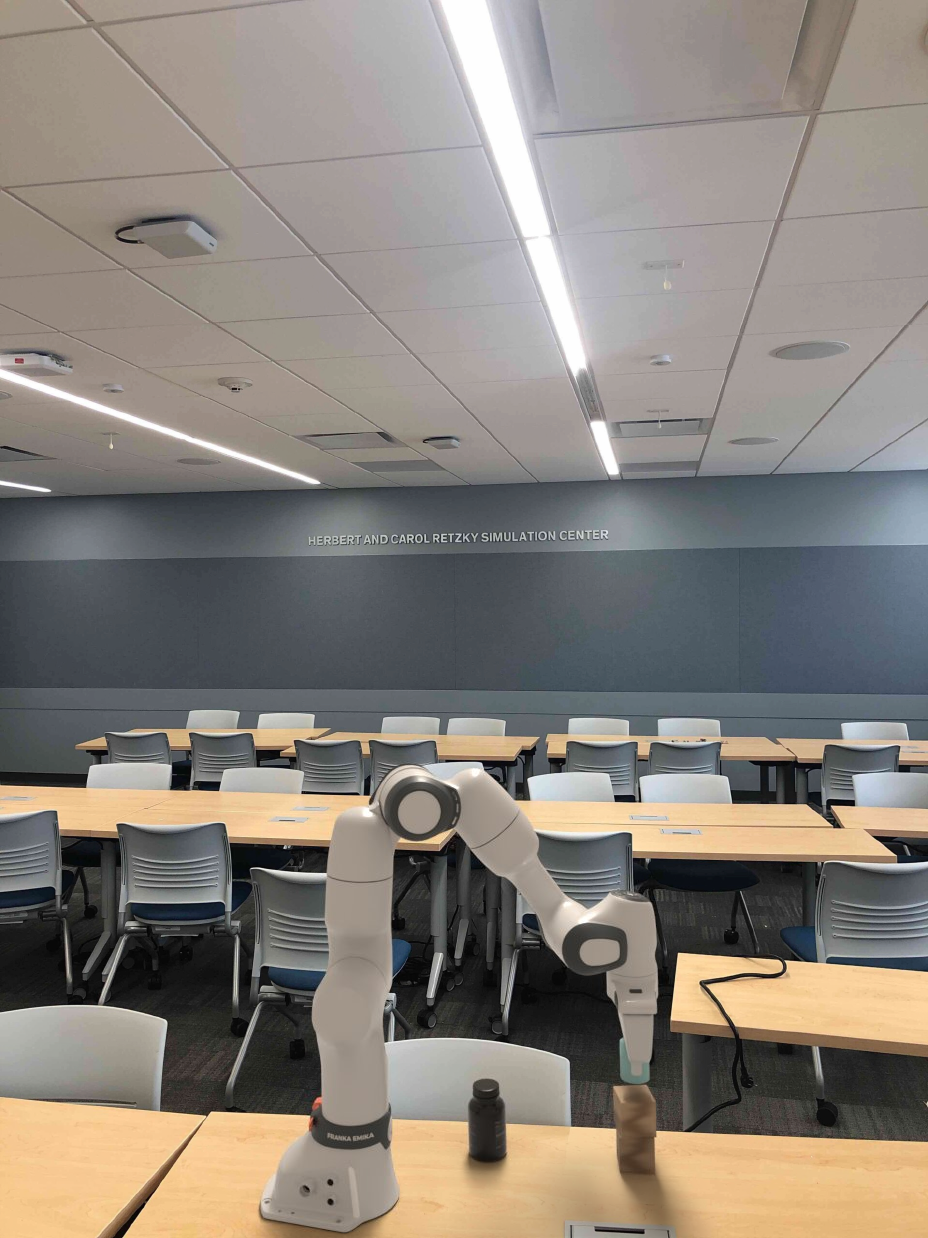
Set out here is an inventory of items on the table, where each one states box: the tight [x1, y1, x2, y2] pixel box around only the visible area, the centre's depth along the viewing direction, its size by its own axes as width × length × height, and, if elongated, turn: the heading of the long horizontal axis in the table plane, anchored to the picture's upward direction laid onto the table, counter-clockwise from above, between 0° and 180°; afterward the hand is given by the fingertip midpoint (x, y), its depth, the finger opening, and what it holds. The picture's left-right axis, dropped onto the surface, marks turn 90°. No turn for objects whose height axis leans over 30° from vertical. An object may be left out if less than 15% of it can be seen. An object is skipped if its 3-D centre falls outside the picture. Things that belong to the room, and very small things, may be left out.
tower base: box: [615, 1125, 656, 1175], centre depth 155 cm, size 6×6×6 cm
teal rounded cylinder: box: [619, 1037, 650, 1085], centre depth 156 cm, size 5×5×6 cm
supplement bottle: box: [467, 1078, 508, 1163], centre depth 159 cm, size 7×7×12 cm
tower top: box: [612, 1084, 657, 1139], centre depth 156 cm, size 6×6×6 cm
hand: (634, 1065), depth 156 cm, fingers closed on teal rounded cylinder, 5 cm apart
